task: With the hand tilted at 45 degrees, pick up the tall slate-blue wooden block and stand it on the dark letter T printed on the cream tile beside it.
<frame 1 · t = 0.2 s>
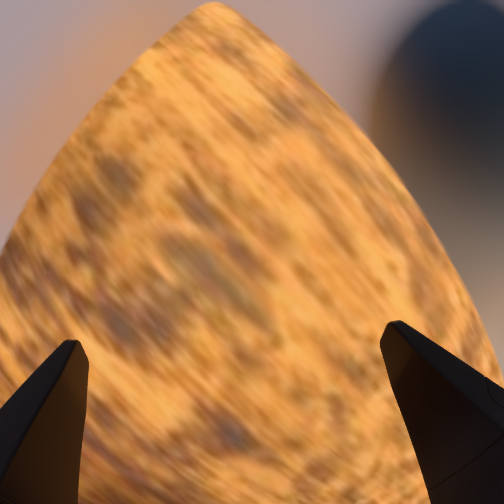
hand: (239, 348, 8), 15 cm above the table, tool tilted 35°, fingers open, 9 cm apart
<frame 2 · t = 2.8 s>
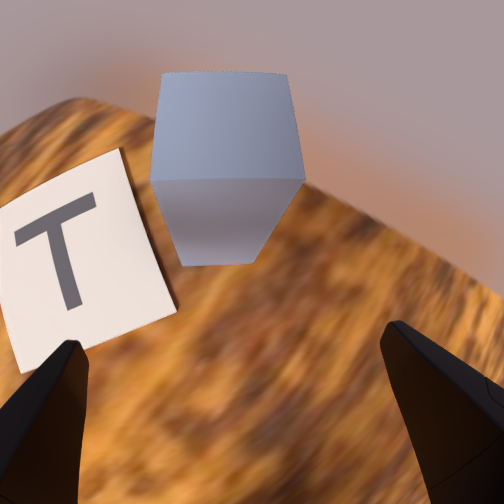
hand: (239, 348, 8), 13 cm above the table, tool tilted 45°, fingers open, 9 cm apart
slate blue block: (216, 231, 23), on the table
letter tile: (63, 258, 20), on the table
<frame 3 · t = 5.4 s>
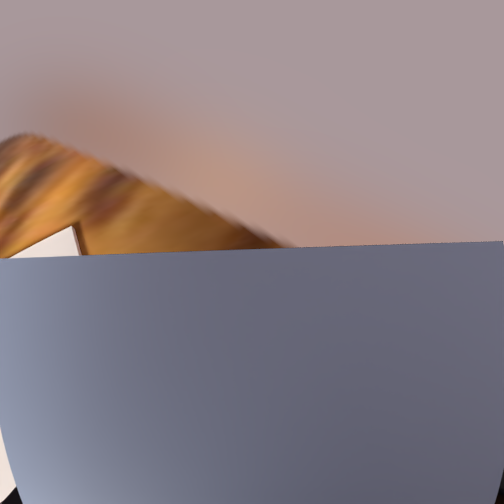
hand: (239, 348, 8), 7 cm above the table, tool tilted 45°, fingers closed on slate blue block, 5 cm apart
slate blue block: (228, 369, 14), on the table, touching gripper
letter tile: (18, 390, 12), on the table
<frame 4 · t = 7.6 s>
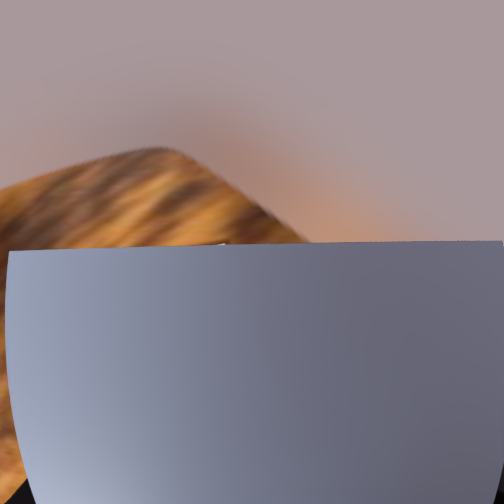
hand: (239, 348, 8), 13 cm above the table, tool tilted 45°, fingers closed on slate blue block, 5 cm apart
slate blue block: (230, 368, 14), point 7 cm above the table, touching gripper
when the fingers open (8 cm above the table, at t = 9.8 s): slate blue block stays where it is, resting on letter tile.
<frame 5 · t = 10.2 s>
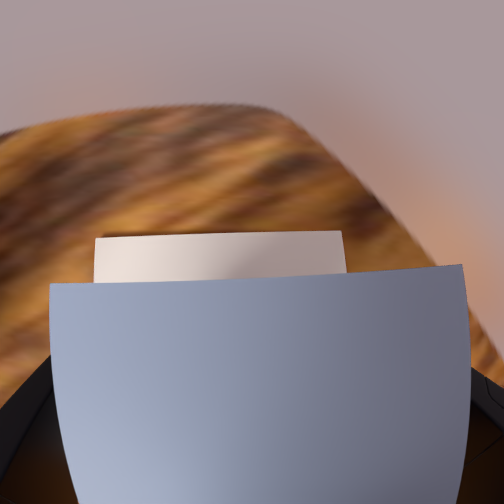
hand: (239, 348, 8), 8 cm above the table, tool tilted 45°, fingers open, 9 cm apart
slate blue block: (228, 367, 15), point 1 cm above the table, touching letter tile
letter tile: (226, 365, 16), on the table
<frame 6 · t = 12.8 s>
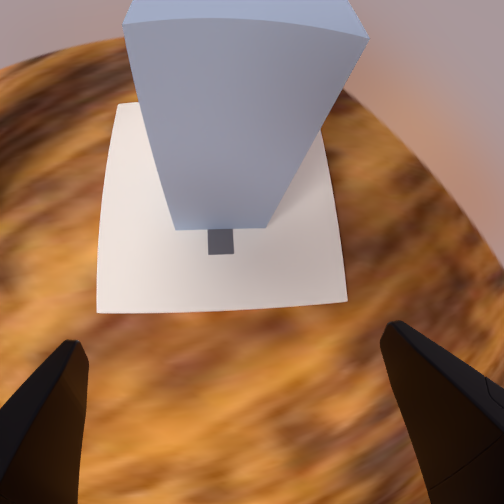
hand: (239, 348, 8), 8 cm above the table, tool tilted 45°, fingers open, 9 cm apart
slate blue block: (219, 188, 18), point 1 cm above the table, touching letter tile
letter tile: (218, 190, 18), on the table
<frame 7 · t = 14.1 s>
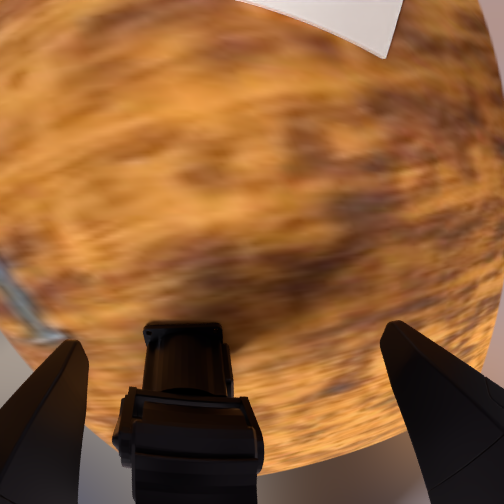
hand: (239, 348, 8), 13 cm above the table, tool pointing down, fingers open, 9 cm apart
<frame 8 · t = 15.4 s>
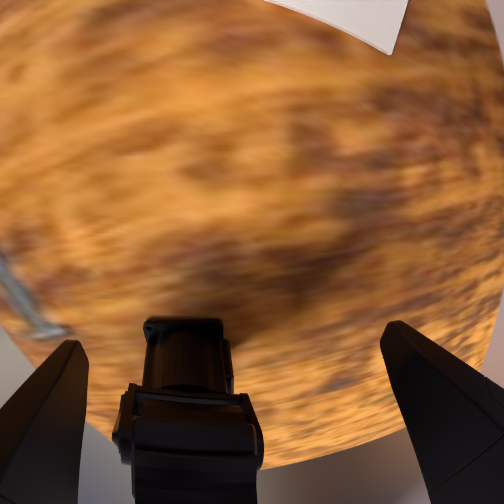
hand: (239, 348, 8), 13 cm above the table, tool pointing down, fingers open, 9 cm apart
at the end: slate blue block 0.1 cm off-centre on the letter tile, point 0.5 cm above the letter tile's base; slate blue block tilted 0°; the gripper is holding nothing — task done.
